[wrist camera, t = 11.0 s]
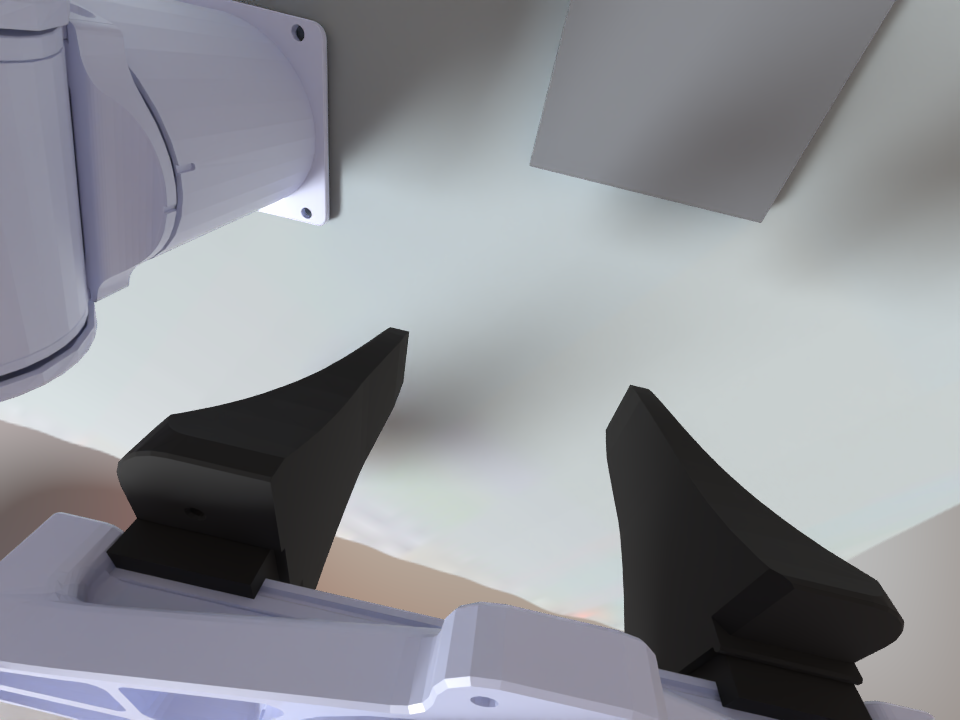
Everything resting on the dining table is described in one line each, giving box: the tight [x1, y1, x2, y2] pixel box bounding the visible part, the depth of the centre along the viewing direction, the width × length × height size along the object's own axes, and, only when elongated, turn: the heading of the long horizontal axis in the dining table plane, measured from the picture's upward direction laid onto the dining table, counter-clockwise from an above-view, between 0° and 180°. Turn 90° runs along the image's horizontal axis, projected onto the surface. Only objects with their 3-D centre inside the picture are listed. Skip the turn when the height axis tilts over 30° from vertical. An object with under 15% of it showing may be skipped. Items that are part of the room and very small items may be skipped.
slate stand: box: [530, 0, 895, 223], centre depth 15 cm, size 10×10×1 cm
